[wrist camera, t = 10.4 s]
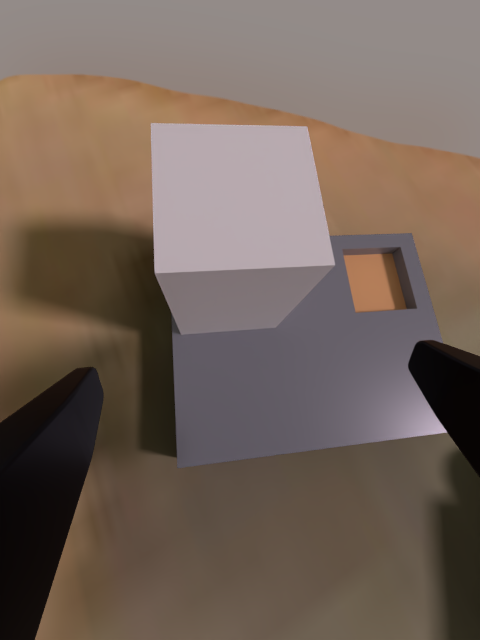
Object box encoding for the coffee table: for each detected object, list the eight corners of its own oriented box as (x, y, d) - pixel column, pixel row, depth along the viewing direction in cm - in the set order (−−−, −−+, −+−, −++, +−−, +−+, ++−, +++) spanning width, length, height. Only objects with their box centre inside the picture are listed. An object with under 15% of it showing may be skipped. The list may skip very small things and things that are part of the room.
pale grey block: (268, 335, 21) (335, 265, 10) (184, 341, 20) (154, 273, 9) (258, 260, 22) (307, 126, 11) (180, 263, 21) (150, 123, 10)
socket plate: (437, 425, 20) (467, 429, 18) (181, 458, 18) (177, 467, 16) (391, 249, 24) (411, 233, 21) (173, 258, 22) (168, 240, 19)
